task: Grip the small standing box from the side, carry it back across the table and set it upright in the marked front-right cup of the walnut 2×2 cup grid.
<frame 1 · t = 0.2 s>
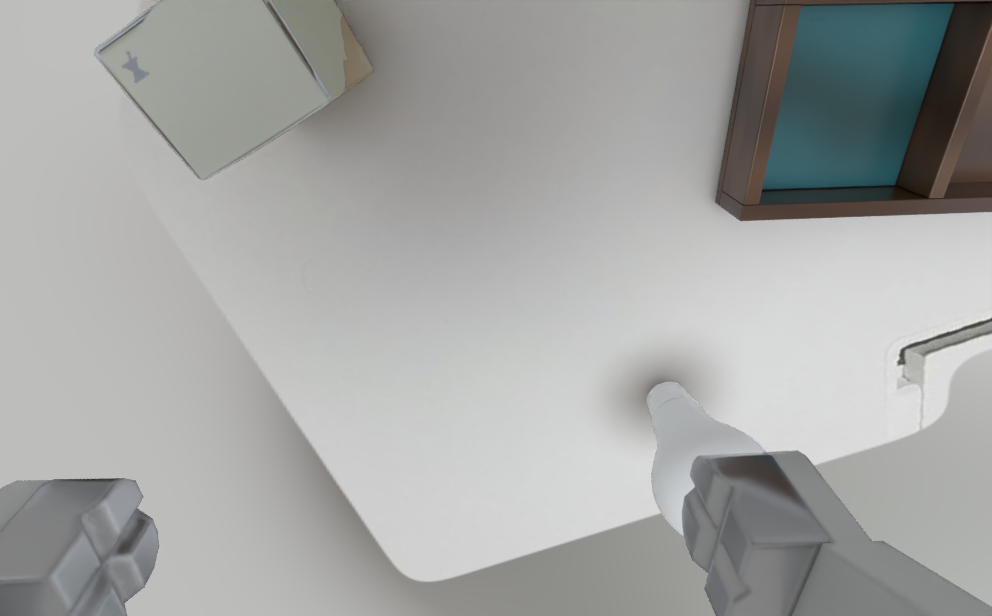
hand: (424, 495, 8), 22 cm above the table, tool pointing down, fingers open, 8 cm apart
lightbulb: (661, 388, 36), on the table
box: (306, 52, 25), on the table
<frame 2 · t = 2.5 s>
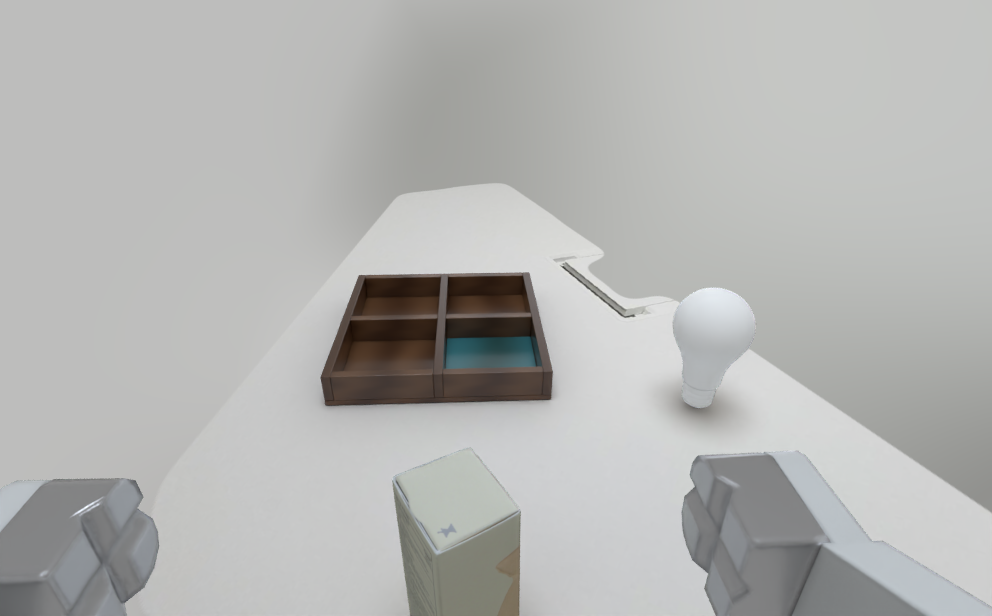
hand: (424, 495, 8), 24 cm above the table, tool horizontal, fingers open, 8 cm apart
grid: (442, 341, 56), on the table
lightbulb: (694, 407, 48), on the table
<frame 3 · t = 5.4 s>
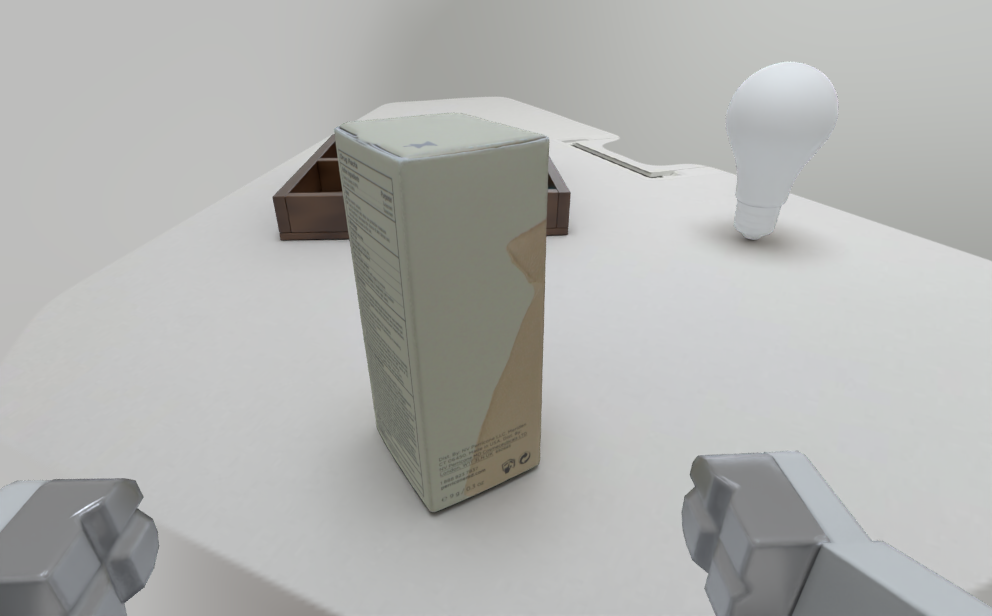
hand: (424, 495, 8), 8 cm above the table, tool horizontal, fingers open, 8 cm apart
grid: (432, 194, 46), on the table
lightbulb: (750, 241, 38), on the table
box: (452, 448, 20), on the table
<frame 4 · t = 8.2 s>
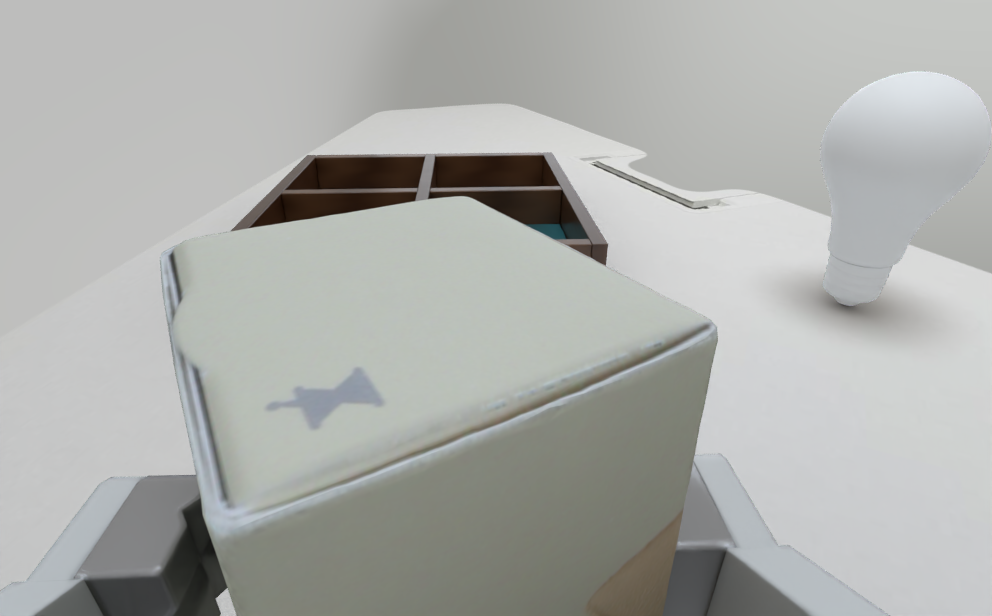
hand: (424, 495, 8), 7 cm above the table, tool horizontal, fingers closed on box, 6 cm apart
grid: (426, 233, 37), on the table
lightbulb: (844, 306, 29), on the table
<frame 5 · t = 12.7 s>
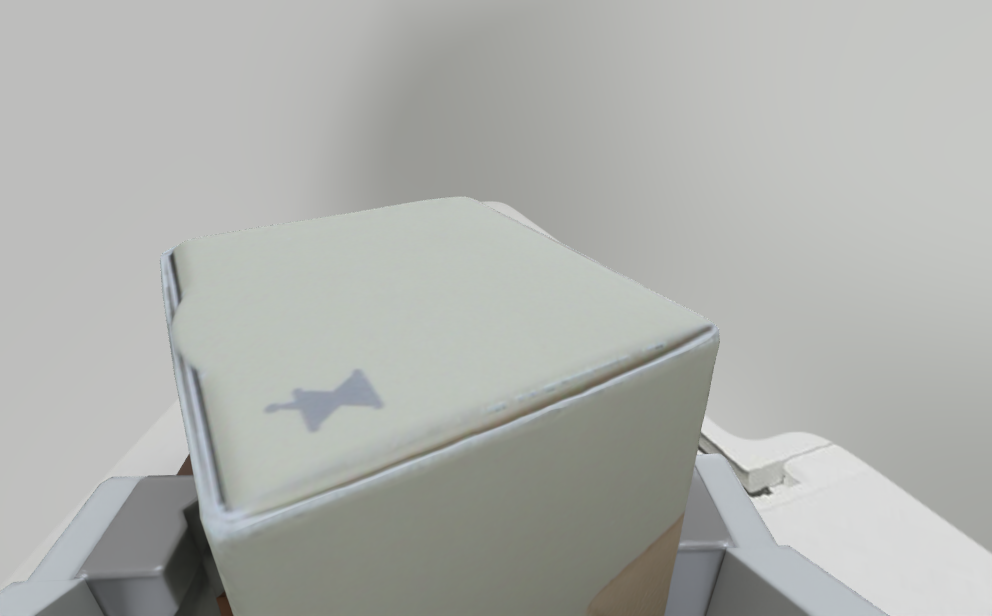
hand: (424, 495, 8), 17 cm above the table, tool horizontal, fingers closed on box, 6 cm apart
grid: (370, 588, 25), on the table
when the fingers open (8 cm above the table, at t = 17.6 s): box stays where it is, resting on grid.
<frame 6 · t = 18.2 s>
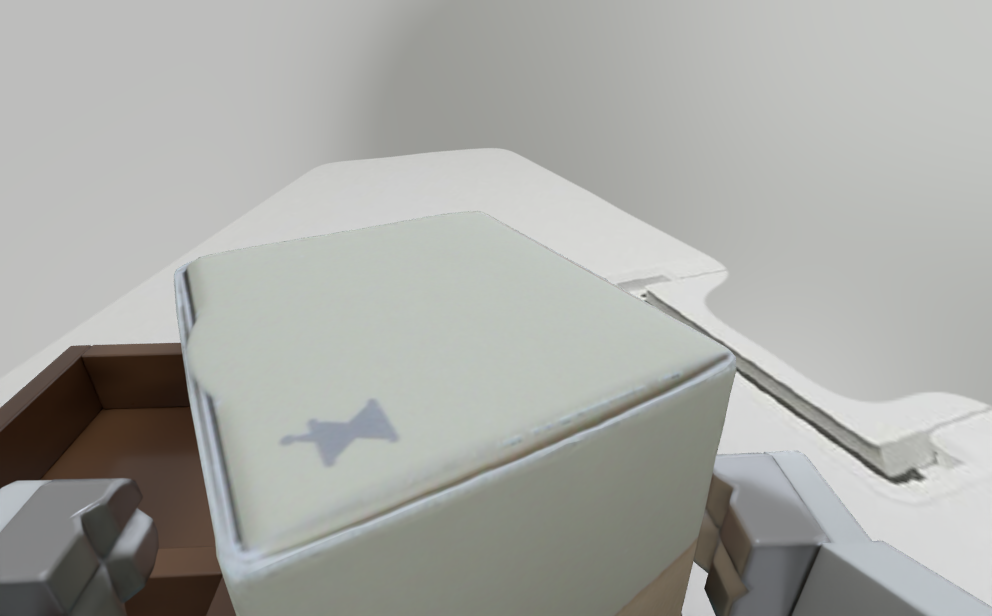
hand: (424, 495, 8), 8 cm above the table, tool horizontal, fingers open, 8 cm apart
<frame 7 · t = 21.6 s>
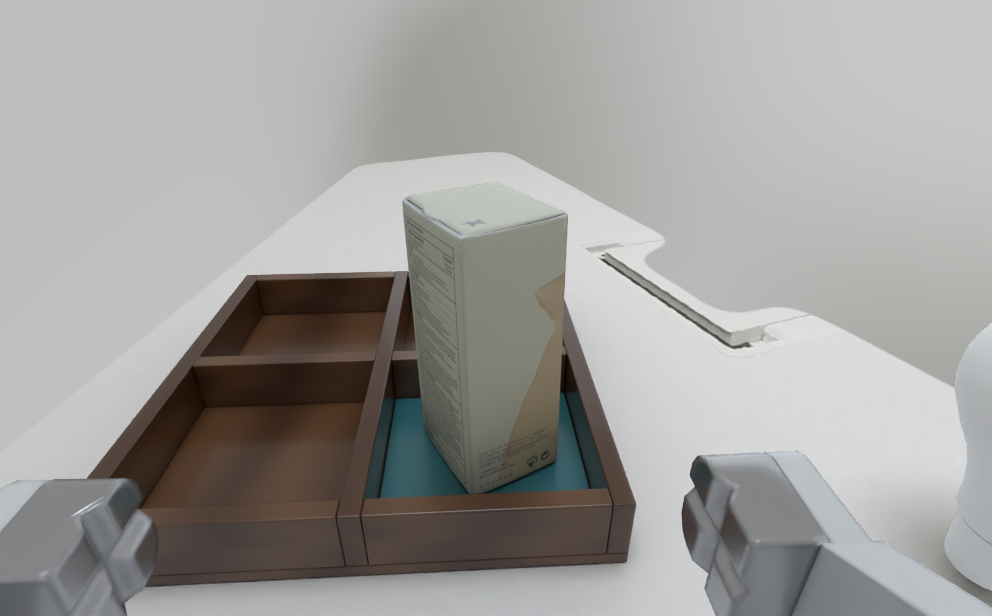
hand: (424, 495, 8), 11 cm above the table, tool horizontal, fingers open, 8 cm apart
grid: (389, 404, 28), on the table
lightbulb: (976, 580, 20), on the table
box: (485, 447, 25), point 1 cm above the table, touching grid
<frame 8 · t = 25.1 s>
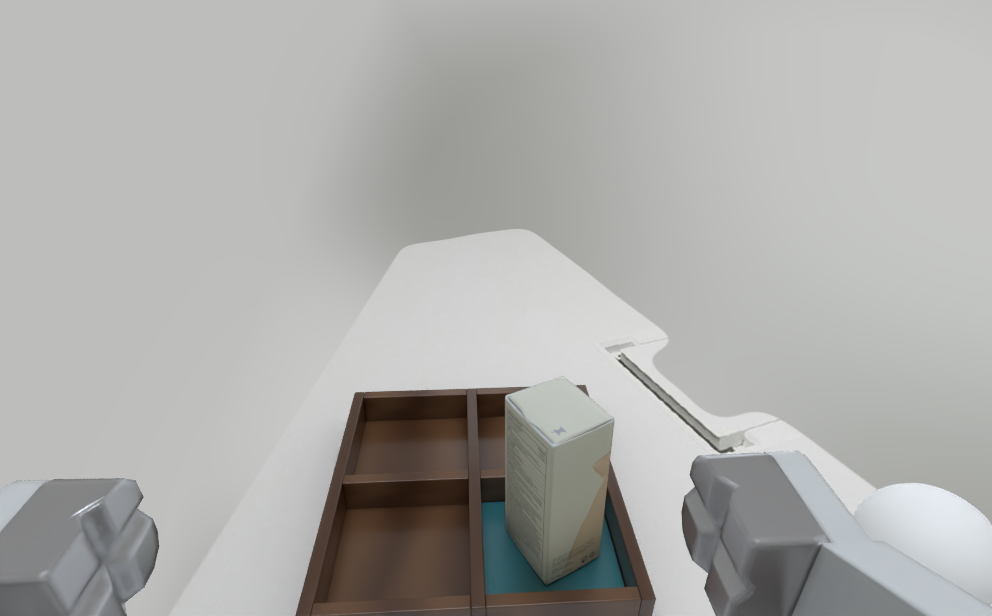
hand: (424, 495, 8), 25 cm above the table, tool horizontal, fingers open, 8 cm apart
grid: (474, 504, 40), on the table
box: (549, 543, 36), point 1 cm above the table, touching grid
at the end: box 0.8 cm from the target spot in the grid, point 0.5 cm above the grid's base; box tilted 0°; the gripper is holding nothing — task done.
